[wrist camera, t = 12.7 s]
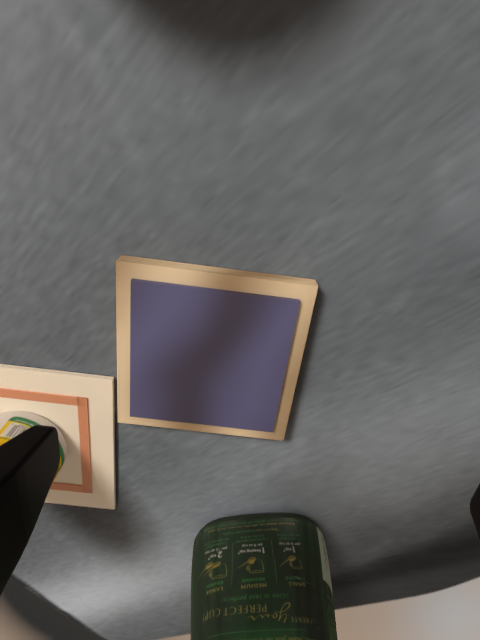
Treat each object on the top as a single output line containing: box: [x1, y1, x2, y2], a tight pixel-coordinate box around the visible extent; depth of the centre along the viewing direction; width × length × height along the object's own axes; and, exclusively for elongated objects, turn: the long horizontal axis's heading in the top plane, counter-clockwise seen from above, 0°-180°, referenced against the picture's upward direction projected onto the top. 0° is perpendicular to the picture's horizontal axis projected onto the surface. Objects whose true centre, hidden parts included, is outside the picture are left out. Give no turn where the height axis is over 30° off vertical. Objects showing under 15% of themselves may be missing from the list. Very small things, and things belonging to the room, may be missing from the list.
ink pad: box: [116, 255, 318, 441], centre depth 21 cm, size 10×10×1 cm
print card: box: [0, 364, 116, 510], centre depth 25 cm, size 11×11×1 cm
